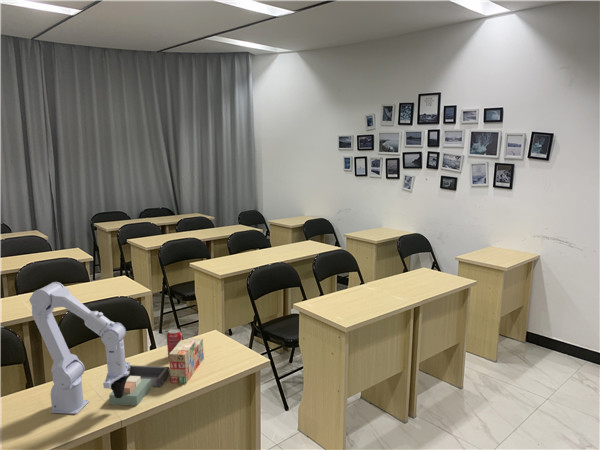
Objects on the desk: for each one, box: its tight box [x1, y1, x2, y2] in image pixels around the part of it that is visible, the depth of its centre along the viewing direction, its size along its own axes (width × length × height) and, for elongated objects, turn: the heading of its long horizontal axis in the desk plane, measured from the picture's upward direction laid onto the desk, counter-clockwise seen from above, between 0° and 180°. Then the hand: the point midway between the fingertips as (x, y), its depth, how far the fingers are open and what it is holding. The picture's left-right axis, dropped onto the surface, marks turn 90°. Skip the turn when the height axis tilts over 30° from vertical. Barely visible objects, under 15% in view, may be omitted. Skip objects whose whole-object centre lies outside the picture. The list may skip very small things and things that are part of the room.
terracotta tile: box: [124, 382, 135, 394], centre depth 162 cm, size 4×4×2 cm
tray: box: [127, 364, 170, 388], centre depth 176 cm, size 16×10×3 cm, turn 85°
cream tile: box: [126, 376, 141, 387], centre depth 167 cm, size 4×4×2 cm
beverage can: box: [166, 328, 183, 359], centre depth 194 cm, size 6×6×12 cm
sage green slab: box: [108, 378, 153, 406], centre depth 165 cm, size 10×12×4 cm
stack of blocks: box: [168, 337, 205, 385], centre depth 183 cm, size 21×6×12 cm, turn 174°
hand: (119, 397), depth 156 cm, fingers closed
